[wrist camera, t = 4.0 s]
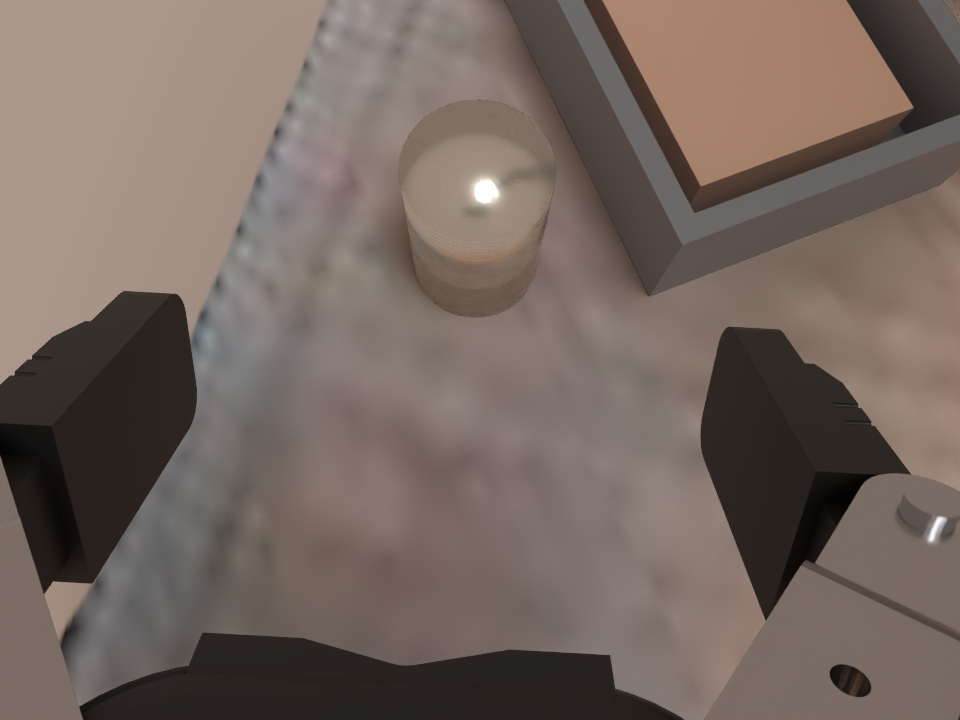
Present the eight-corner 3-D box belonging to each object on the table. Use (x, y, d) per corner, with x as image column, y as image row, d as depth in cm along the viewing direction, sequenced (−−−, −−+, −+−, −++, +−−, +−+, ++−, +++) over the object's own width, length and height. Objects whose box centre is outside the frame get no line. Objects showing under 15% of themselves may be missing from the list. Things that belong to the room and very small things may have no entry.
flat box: (738, -85, 39) (759, -138, 36) (877, 146, 36) (913, 107, 33) (555, -26, 38) (562, -76, 35) (681, 219, 34) (700, 186, 32)
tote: (752, -119, 41) (794, -223, 36) (940, 184, 36) (1021, 117, 31) (487, -34, 39) (491, -130, 34) (649, 296, 34) (682, 245, 29)
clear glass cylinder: (508, 187, 36) (519, 79, 28) (556, 291, 35) (581, 208, 27) (396, 227, 35) (376, 128, 28) (440, 335, 34) (432, 263, 26)
